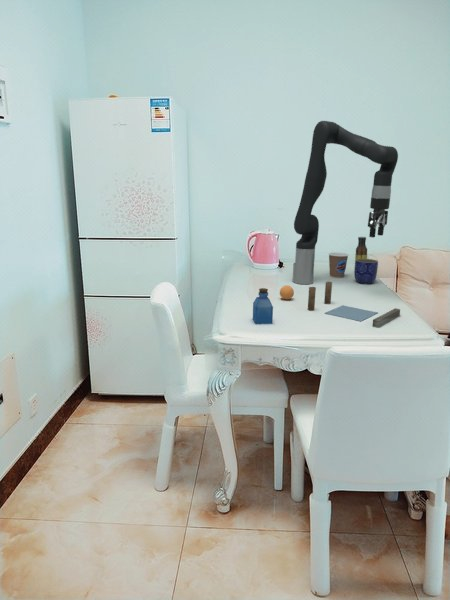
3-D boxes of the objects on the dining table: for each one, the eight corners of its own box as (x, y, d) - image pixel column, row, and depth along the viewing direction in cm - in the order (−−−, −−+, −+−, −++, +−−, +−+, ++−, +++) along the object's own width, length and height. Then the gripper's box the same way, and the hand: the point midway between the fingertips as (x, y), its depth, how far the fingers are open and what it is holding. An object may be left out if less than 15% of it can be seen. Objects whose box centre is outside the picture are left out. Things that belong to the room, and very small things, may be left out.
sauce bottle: (366, 272, 255) (369, 236, 250) (365, 274, 250) (369, 238, 245) (354, 271, 258) (357, 236, 252) (353, 273, 252) (356, 237, 247)
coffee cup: (335, 279, 238) (337, 256, 235) (322, 275, 247) (324, 253, 243) (351, 277, 242) (352, 254, 239) (337, 273, 251) (339, 252, 248)
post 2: (323, 303, 192) (324, 282, 190) (326, 302, 194) (327, 281, 192) (328, 304, 191) (330, 283, 188) (331, 303, 192) (333, 282, 190)
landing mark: (324, 313, 178) (324, 312, 178) (342, 305, 189) (342, 305, 189) (360, 321, 168) (360, 321, 168) (378, 313, 179) (378, 312, 179)
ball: (276, 299, 197) (277, 285, 196) (284, 296, 202) (285, 283, 200) (288, 301, 194) (289, 288, 192) (296, 299, 198) (296, 285, 196)
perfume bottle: (252, 319, 170) (253, 287, 167) (269, 318, 171) (270, 287, 168) (255, 324, 164) (256, 291, 161) (272, 323, 165) (273, 291, 162)
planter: (379, 282, 232) (382, 260, 229) (369, 286, 224) (372, 263, 221) (359, 279, 239) (361, 257, 236) (349, 282, 231) (351, 260, 228)
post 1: (306, 309, 183) (307, 287, 180) (309, 308, 185) (311, 286, 182) (312, 310, 181) (313, 288, 179) (315, 309, 183) (317, 287, 181)
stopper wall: (372, 326, 163) (373, 319, 163) (394, 314, 178) (395, 308, 177) (377, 327, 162) (378, 320, 161) (399, 315, 177) (400, 309, 176)
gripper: (378, 196, 198) (374, 233, 203) (364, 197, 188) (360, 236, 192) (396, 197, 193) (391, 235, 198) (382, 198, 183) (378, 239, 187)
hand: (376, 236), depth 195 cm, fingers open, 8 cm apart
